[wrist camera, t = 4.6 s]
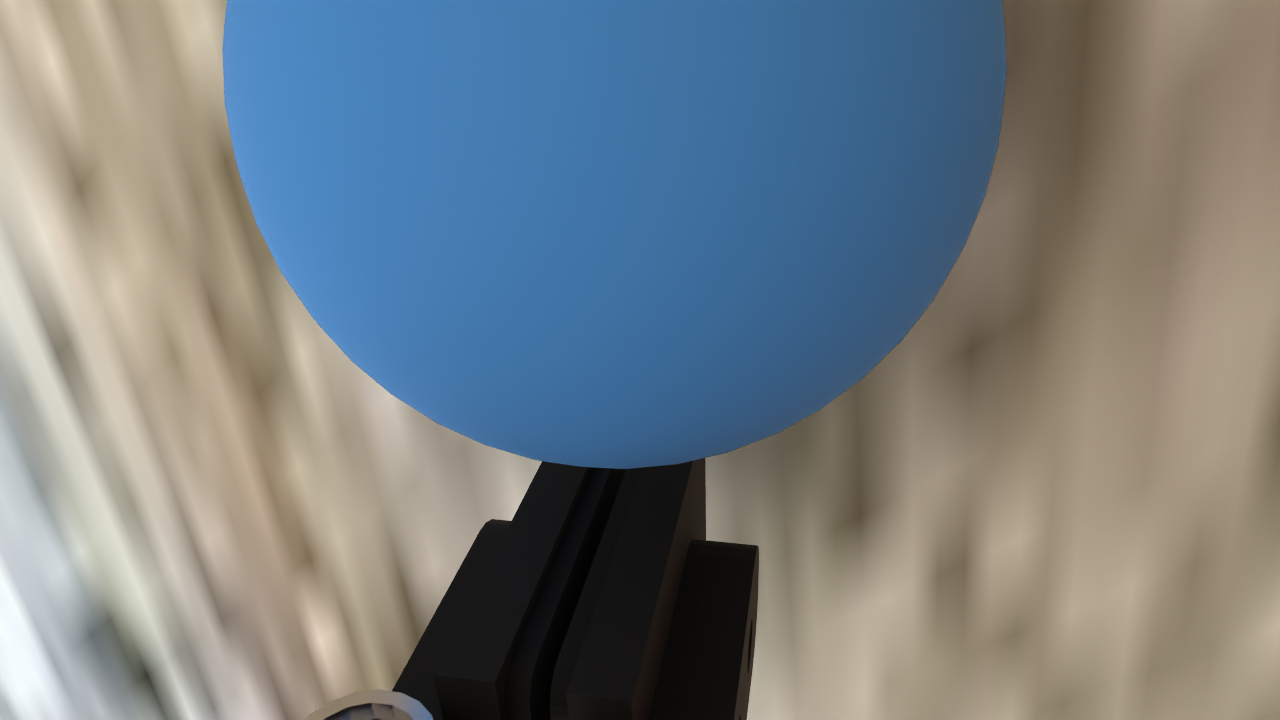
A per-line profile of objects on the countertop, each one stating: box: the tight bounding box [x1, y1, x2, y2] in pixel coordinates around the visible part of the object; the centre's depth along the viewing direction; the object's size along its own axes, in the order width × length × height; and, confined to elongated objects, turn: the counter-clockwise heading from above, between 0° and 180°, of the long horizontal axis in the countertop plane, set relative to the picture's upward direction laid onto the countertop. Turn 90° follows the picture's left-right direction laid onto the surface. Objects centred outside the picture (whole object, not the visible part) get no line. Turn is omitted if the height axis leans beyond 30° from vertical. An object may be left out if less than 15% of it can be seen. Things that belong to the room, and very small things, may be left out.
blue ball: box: [223, 0, 1007, 469], centre depth 7 cm, size 6×6×6 cm
